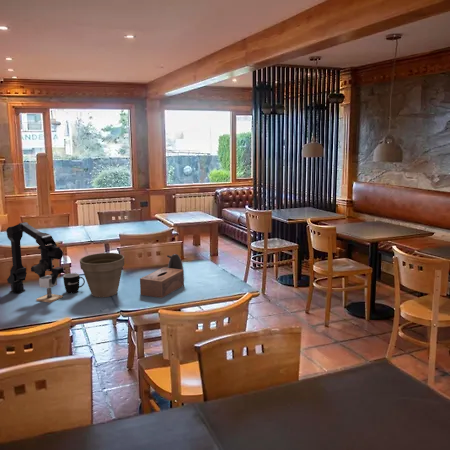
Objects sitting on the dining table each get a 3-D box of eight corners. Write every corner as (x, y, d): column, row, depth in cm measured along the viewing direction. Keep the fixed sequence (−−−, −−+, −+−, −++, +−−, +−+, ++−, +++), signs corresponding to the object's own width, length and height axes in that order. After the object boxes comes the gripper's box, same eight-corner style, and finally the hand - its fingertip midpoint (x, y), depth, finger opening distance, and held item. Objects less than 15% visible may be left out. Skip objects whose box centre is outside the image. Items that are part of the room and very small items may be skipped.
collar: (39, 286, 272) (39, 278, 271) (47, 283, 278) (47, 275, 277) (49, 288, 269) (48, 279, 268) (57, 284, 275) (56, 276, 275)
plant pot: (85, 303, 267) (83, 265, 263) (78, 290, 289) (76, 255, 285) (130, 296, 278) (128, 260, 274) (120, 285, 299) (118, 250, 295)
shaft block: (36, 300, 272) (35, 290, 271) (48, 295, 281) (47, 285, 280) (50, 302, 269) (50, 292, 268) (62, 297, 278) (62, 287, 277)
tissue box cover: (163, 282, 304) (163, 267, 302) (184, 285, 298) (183, 269, 297) (140, 295, 281) (139, 278, 279) (161, 298, 275) (161, 281, 273)
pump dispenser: (168, 274, 322) (168, 252, 319) (184, 274, 321) (183, 252, 318) (166, 278, 311) (165, 255, 309) (182, 279, 311) (181, 256, 308)
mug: (65, 295, 281) (64, 278, 280) (63, 290, 289) (62, 274, 287) (86, 291, 287) (85, 275, 285) (83, 287, 295) (82, 271, 293)
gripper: (22, 259, 266) (24, 286, 269) (50, 262, 260) (52, 290, 263) (37, 254, 277) (39, 280, 280) (63, 257, 270) (65, 284, 273)
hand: (48, 284), depth 273 cm, fingers closed on collar, 7 cm apart
